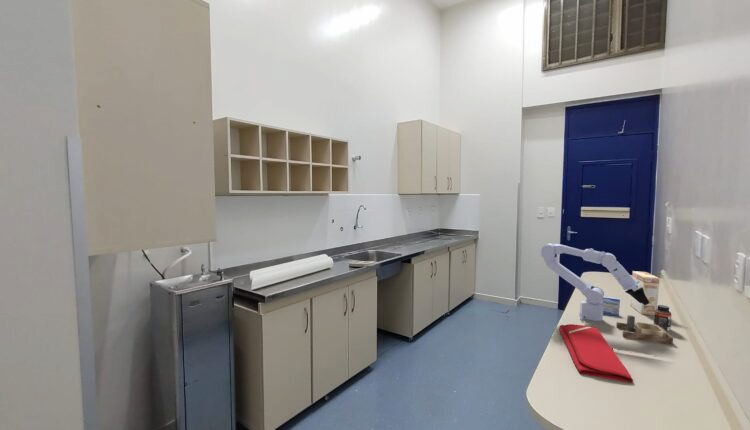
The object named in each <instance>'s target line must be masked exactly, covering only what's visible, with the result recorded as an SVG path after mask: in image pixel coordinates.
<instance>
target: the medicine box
mask: <svg viewBox="0 0 750 430" xmlns="http://www.w3.org/2000/svg"><path fill="white" fill-rule="evenodd" d="M602 301H603V303H604V307H603V315H605V316H606V315H607V316H616V317H619V316H620V307H621V305H620V304H621V299H620V298H618V297H615V296H607V295H604V296H603V298H602Z"/></svg>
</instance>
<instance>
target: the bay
mask: <svg viewBox="0 0 750 430" xmlns="http://www.w3.org/2000/svg"><path fill="white" fill-rule="evenodd" d="M615 324H616V326H615V327H616V328H617V329H623V330H622V337H623V338H628V339H633V340H640V341H647V342H651V343H653V342H654V343H657V344H658V343H659V344H665V345H672V346H673V345H674V337H673V336H672V335H671V334H670V333H669V331H666V330H665V329H664V328H662V327H661V328H662V329H663V330H664V331H665V332H666V337H661V336H654V335H648V334H641V333H635V332H628V331H626V328H627V322H619V321H617V322H616V323H615Z"/></svg>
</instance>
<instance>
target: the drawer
mask: <svg viewBox="0 0 750 430" xmlns="http://www.w3.org/2000/svg"><path fill="white" fill-rule="evenodd" d="M626 316H627V317H626V323H627V328H626V329H625V331H628V332H635V333H641V334H648V335H654V336H661V337H666V332H665V331H664V330H663V329H662V328H661V327H659V326H658V325H654V323H646V322H639V321H636V317H635V315H626Z"/></svg>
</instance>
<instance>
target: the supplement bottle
mask: <svg viewBox="0 0 750 430" xmlns="http://www.w3.org/2000/svg"><path fill="white" fill-rule="evenodd" d="M653 324H654V325H658V326H659V327H662V328H664V329H665V330H666V331H667V332H669V331H671V326H672V311H670V306H668V305H663V304H657V309H656V310H655V311H654V315H653Z"/></svg>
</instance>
